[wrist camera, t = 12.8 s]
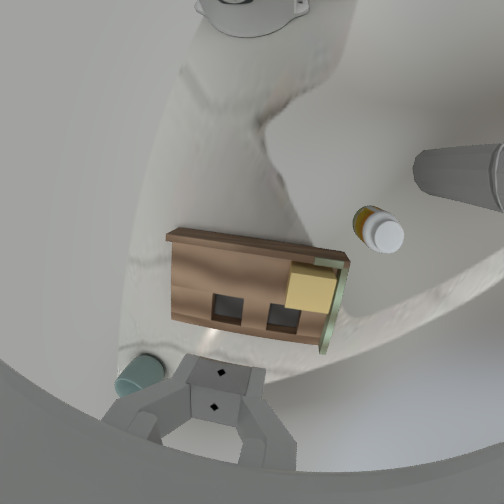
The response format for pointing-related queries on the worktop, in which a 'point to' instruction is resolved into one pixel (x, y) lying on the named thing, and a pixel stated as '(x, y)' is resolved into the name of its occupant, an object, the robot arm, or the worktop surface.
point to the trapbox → (248, 285)
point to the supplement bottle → (378, 229)
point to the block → (310, 287)
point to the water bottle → (464, 174)
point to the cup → (139, 375)
